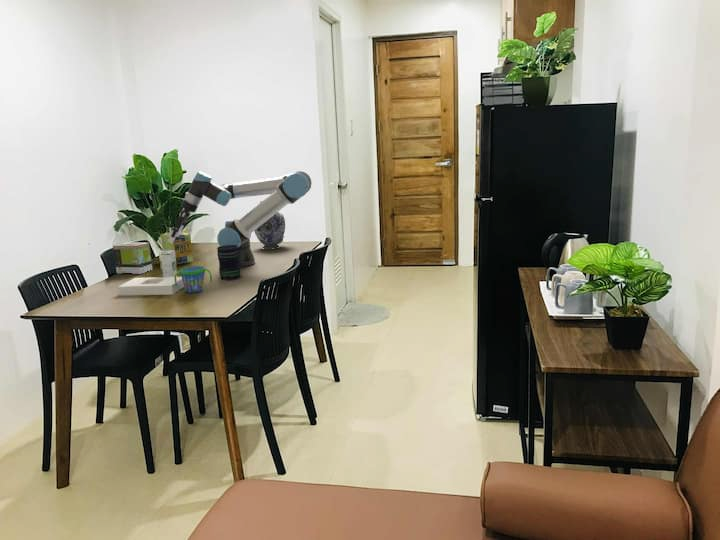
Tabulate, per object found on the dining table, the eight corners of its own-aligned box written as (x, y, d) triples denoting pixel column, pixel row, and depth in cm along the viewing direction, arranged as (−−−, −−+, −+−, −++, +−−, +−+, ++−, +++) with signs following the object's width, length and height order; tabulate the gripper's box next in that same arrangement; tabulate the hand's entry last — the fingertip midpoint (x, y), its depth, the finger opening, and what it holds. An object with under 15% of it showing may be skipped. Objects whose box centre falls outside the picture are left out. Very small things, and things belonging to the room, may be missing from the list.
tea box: (153, 270, 307) (149, 242, 304) (140, 274, 298) (136, 245, 295) (129, 269, 312) (125, 241, 309) (116, 273, 303) (112, 245, 300)
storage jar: (233, 274, 289) (230, 244, 286) (245, 277, 282) (242, 246, 279) (215, 278, 282) (212, 247, 279) (227, 281, 275) (224, 249, 272)
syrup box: (166, 280, 284) (162, 250, 281) (178, 279, 284) (174, 249, 281) (161, 283, 279) (158, 252, 275) (174, 282, 278) (170, 252, 275)
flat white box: (186, 285, 272) (185, 276, 271) (172, 294, 257) (171, 285, 256) (136, 286, 275) (134, 277, 274) (119, 295, 259) (118, 286, 258)
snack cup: (213, 286, 268) (210, 264, 265) (212, 292, 258) (210, 269, 255) (176, 290, 264) (174, 267, 262) (175, 296, 254) (172, 272, 252)
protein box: (175, 265, 317) (172, 236, 314) (163, 261, 329) (160, 233, 325) (193, 261, 324) (190, 233, 320) (181, 258, 335) (178, 231, 332)
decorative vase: (284, 250, 342) (280, 202, 336) (252, 252, 342) (247, 204, 336) (289, 244, 363) (285, 198, 357) (259, 245, 363) (254, 200, 357)
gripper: (188, 194, 303) (171, 229, 307) (178, 202, 279) (159, 241, 283) (202, 201, 304) (184, 236, 309) (193, 210, 281) (174, 248, 285)
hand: (172, 239), depth 296 cm, fingers open, 13 cm apart
